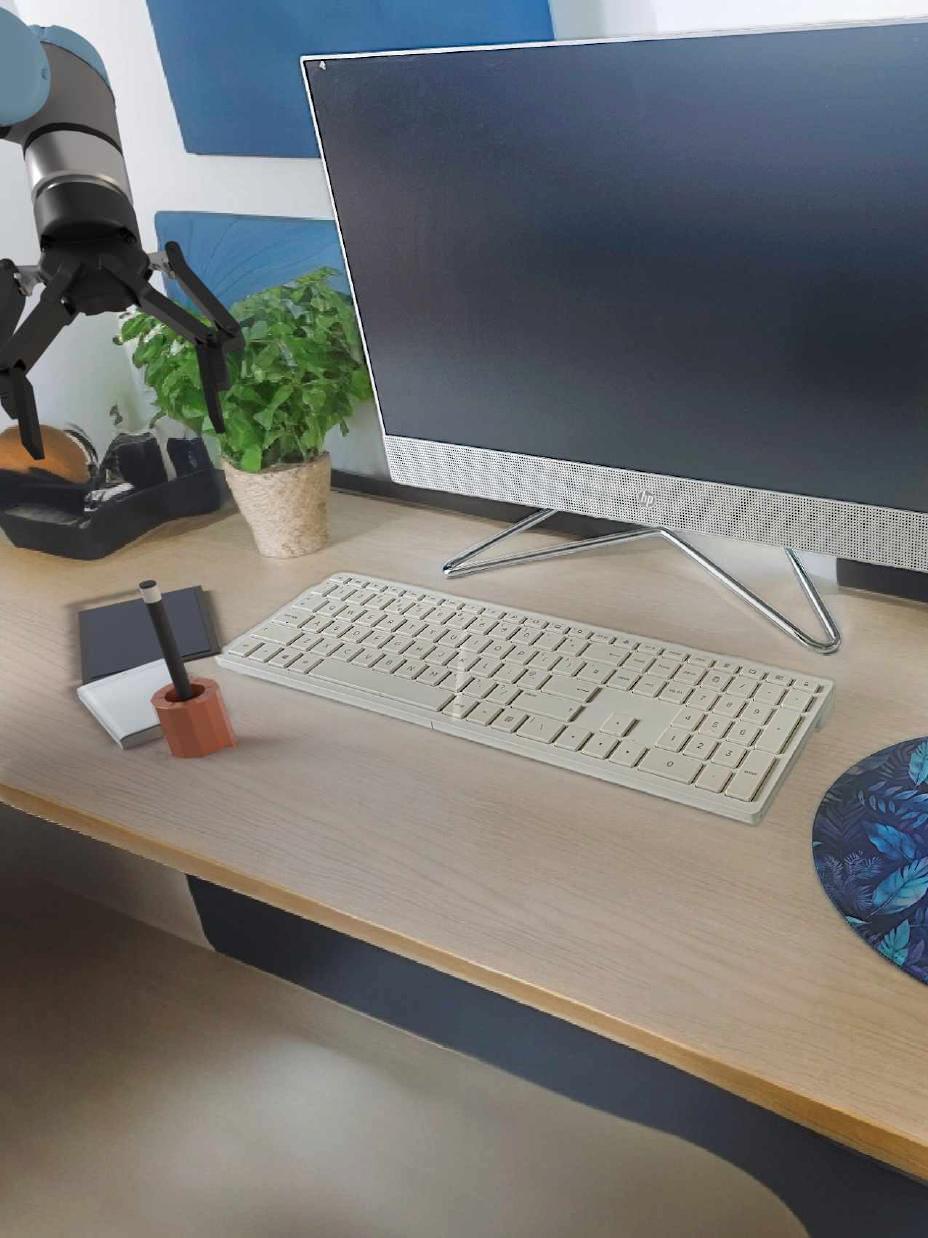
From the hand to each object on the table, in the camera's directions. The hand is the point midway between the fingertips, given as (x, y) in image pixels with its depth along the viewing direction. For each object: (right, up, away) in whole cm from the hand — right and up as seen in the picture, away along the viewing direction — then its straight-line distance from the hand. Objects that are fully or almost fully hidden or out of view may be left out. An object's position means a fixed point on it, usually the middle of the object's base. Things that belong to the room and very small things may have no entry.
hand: (127, 438), depth 94 cm
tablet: (-10, -14, +24) cm, 29 cm away
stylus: (+5, -25, +3) cm, 25 cm away
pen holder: (+5, -25, +4) cm, 26 cm away
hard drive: (-4, -21, +11) cm, 24 cm away
